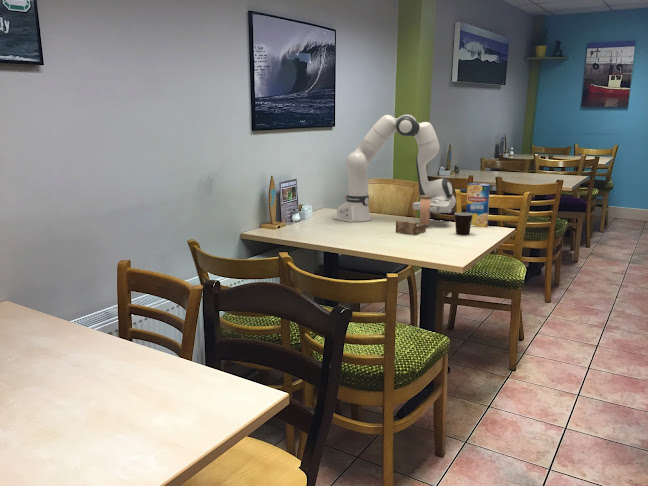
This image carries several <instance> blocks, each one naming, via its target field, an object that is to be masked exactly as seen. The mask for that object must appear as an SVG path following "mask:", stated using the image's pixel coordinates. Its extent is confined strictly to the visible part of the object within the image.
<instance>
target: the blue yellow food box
mask: <svg viewBox="0 0 648 486" xmlns="http://www.w3.org/2000/svg"><path fill="white" fill-rule="evenodd" d="M490 187H491V183H478V182H476V183H475V182H473V183H472V182H470V183H467V188H466V189H467V190H466V191H467V192H466V208H465V209H466V210H465V213H471V214H473V215H472V221H471V225H476V226H478V228H488V225H489V209H490V208H489V205H490V191H491V190H490V189H491V188H490Z"/></svg>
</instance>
